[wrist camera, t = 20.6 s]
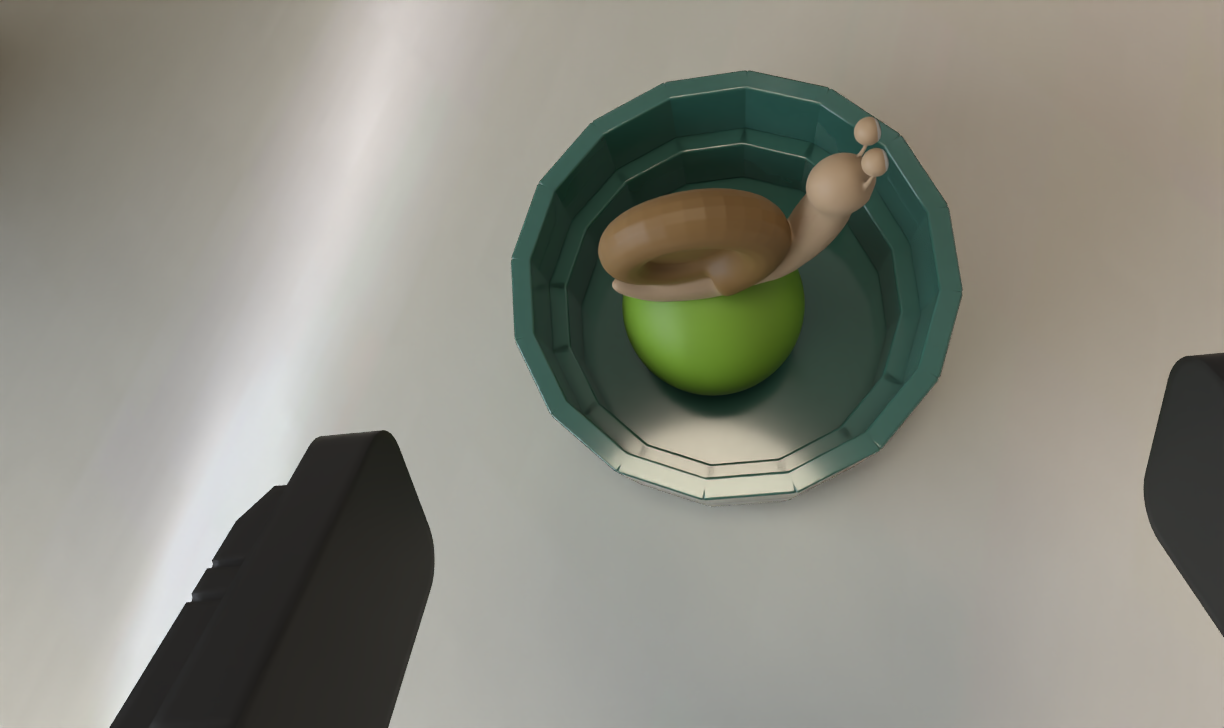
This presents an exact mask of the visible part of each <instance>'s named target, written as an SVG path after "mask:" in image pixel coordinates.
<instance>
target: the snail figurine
mask: <svg viewBox="0 0 1224 728" xmlns="http://www.w3.org/2000/svg"><path fill="white" fill-rule="evenodd" d="M854 136H855V139H856V140H857V142H859V143H860V144H862V145H864V146H863V148H862V149H861V151H860V152H859V153H858V154H853V153H837V154H833V155H830V156H828V157H826V158H824V159H823V160H821V161H820V162H819V163H818V164H816V165H815V167H814V168H813V169H812V170H811V172H810V174H809V176H808V179H807V182H806V194H805V196H804V197H803V198H802V199H801V200H800V202H799V203H798V204H797V206H796V207H795V208H794V210H793V211H792V213H791V214H790V216H789V218H788V219H786V217H785V215H784V214H783V212H782V211H781V209H780V208H779V207H778V206H777V205H775V204H774V203H773V202H771V201H770V200H768V199H767V198H765V197H763V196H761V195H757V194H754V193H751V192H747V191H742V190H736V189H726V188H707V189H695V190H688V191H681V192H676V193H672V194H668V195H664V196H660V197H657V198H654V199H651V200H648V201H645V202H643V203H641V204H638V205H636V206H634V207H632V208H630V209H629V210H627V211H625V212H624V213H622V214H621V215H619V216H618V217H617V218H616V219H614V220H613V221H612V222H611V223H610V224H609V225H608V226H607V228H606V229H605V231H604V232H603V234H602V236H601V238H600V242H599V247H598V255H599V259H600V261H601V264H602V266H603V268H604V269H605V270H606V272H607V273H608V274H610V275H611V276H612V277H613V278H615V280H614V281H613V283H612V287H613V289H614V290H615V291H617V292H618V293H620V294H623V301H622V310H623V320H624V325H625V329H626V333H627V336H628V338H629V341H630V343H631V345H632V347H633V349H634V351H635V352H636V354H637V355H638V357H639V358H640V360H641V361H642V362H643V363H644V365H645V366H646V367H647V368H648V369H649V370H650V371H651V372H652V373H653V374H655V375H656V376H657V377H658V378H660V379H661V380H663V381H664V382H666V383H667V384H669V385H671V386H673V387H675V388H678V389H680V390H683V391H686V392H689V393H693V394H699V395H710V396H716V395H727V394H732V393H736V392H740V391H743V390H746V389H748V388H750V387H753V386H755V385H757V384H758V383H760V382H762V381H763V380H765V379H766V378H768V377H769V376H770V375H771V374H773V373H774V372H775V371H776V370H777V369H778V368H779V367H780V366H781V365H782V364H783V362H784V361H785V360H786V359H787V357H788V356H789V354H790V353H791V351H792V350H793V348H794V346H795V344H796V342H797V339H798V337H799V334H800V331H801V328H802V324H803V319H804V310H805V298H804V289H803V284H802V280H801V277H800V274H799V271H798V268H800V267H801V266H802V265H804V264H805V263H807V262H808V261H810V260H811V259H813V258H814V257H815V256H817V255H818V254H819V253H820V252H821V251H822V250H824V249H825V248H826V247H827V246H828V245H829V244H830V243H831V242H832V241H833V240H834V239H835V238H836V236H837V235H838V234H839V233H840V232H841V230H842V229H843V228H844V226H845V225H846V223H847V222H848V220H849V218H850V216H851V214H852V213H853V212H855V211H857V210H858V209H860V208H861V207H863V206H864V205H865V204H866V203H867V202H868V201H869V199H870V196H871V194H872V192H873V189H874V187H875V184H876V177H878V176H881V175H883V174H884V173H885V172H886V171H887V170H888V166H889V161H888V156H887V154H886V152H885V151H884V150H883V149H880V148H873V149H870V150H868V151H867V152H866V153H865V154H864V152H865V150H866V148H867V146H870V145H873V144H875V143H877V142H878V141H879V139H880V137H881V127H880V124H879V122H878V121H877V119H875V118H873V117H865V118H863V119H861V120H860V121H858V123H857V124H856V126H855V128H854ZM863 154H864V155H863ZM862 155H863V157H862Z"/></svg>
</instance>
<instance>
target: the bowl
mask: <svg viewBox="0 0 1224 728" xmlns="http://www.w3.org/2000/svg"><path fill="white" fill-rule="evenodd" d="M865 117H873V118H875V117H874V116H872V115H871V114H869V113H868V112H866V111H864V110H863V109H861V108H860V107H858V106H857V105H855V104H854V103H852V102H851V101H849V100H848V99H846V98H845V97H843V96H842V95H840V94H839V93H837V92H836V91H834V90H833V89H829V88H828V87H824V86H820V85H815V84H810V83H806V82H801V81H796V80H792V79H787V78H782V77H778V76H773V75H768V74H763V73H759V72H754V71H748V72H747V71H738V72H731V73H724V74H717V75H711V76H704V77H697V78H690V79H683V80H677V81H670V82H666V83H665V84H664V83H662V84H660V85H658V86H656V87H655V88H653V89H651V90H649V91H647V92H645V93H644V94H642V95H640V96H638V97H636V98H634V99H632V100H631V101H629V102H627V103H625V104H623V105H621V106H620V107H618V108H616V109H614V110H612V111H610V112H609V113H607V114H605V115H603V116H601V117H599V118H597V119H596V120H594V121H593V123H590V124H589V125H588V127H587V128H586V129H585V130H584V131H583V132H582V133H581V135H580V136H579V137H578V138H577V139H576V140H575V141H574V143H573V144H572V145H571V146H570V147H569V148H568V149H567V151H566V152H565V153H564V154H563V155H562V156H561V158H560V159H559V160H558V161H557V162H556V163H555V164H554V166H553V167H552V168H551V169H550V170H549V171H548V172H547V174H546V175H545V176H544V177H543V178H542V179H541V180H540V182H539V184H538V185H537V188H536V191H535V194H534V196H533V199H532V202H531V205H530V207H529V210H528V213H527V216H526V219H525V221H524V224H523V227H522V230H521V233H520V235H519V238H518V241H517V244H516V247H515V249H514V252H513V255H512V260H511V272H512V293H513V315H514V336H515V340H516V344H517V346H518V348H519V350H520V353H521V355H522V357H523V359H524V361H525V363H526V365H527V367H528V369H529V371H530V373H531V375H532V377H533V379H534V382H535V384H536V386H537V388H538V390H539V392H540V394H541V396H542V398H543V400H544V402H545V404H546V406H547V408H548V410H549V413H550V414H551V415H552V417H553V418H554V419H556V420H557V421H558V422H559V423H560V424H561V425H562V426H564V427H565V428H566V429H567V430H568V431H569V432H571V433H572V434H573V435H574V436H575V437H576V438H577V439H579V440H580V441H581V442H582V443H583V444H584V445H585V446H587V447H588V448H589V449H590V450H591V451H592V452H594V453H595V454H596V455H597V456H598V457H599V458H600V459H602V460H603V461H604V462H605V463H606V464H607V465H608V466H610V467H611V468H612V469H613V470H614V471H616V472H618V473H619V474H621V475H623V476H625V477H627V478H629V479H631V480H633V481H635V482H637V483H639V484H641V485H645V486H648V487H651V488H654V489H657V490H660V491H663V492H666V493H669V494H672V495H675V496H678V497H681V498H684V499H687V500H690V501H693V502H696V503H699V504H702V505H706V506H711V507H717V506H730V505H743V504H756V503H769V502H782V501H787V500H791V499H792V498H794V497H796V496H798V495H800V494H802V493H804V492H806V491H808V490H810V489H812V488H814V487H816V486H818V485H820V484H822V483H824V482H826V481H828V480H829V479H831V478H833V477H835V476H837V475H839V474H841V473H843V472H845V471H847V470H849V469H851V468H853V467H855V466H856V465H858V464H860V463H861V462H863V461H864V460H866V459H868V458H869V457H871V456H872V455H874V454H875V453H877V452H879V451H880V449H882V448H883V447H884V446H885V445H886V443H887V442H888V441H889V440H890V438H891V437H892V436H893V435H894V434H895V432H896V431H897V430H898V429H899V428H900V426H901V425H902V424H903V423H904V421H905V420H906V419H907V418H908V417H909V415H910V414H911V413H912V412H913V411H914V409H915V408H916V407H917V406H918V404H919V403H920V402H921V401H922V400H923V398H924V397H925V396H926V395H927V393H928V392H929V391H930V390H931V389H932V387H933V386H934V385H935V384H936V383H937V381H938V378H939V377H940V376H941V372H942V368H943V364H944V361H945V357H946V353H947V350H948V346H949V342H950V339H951V335H952V331H953V328H954V324H955V320H956V317H957V313H958V309H959V306H960V302H961V298H962V290H963V289H962V283H961V277H960V271H959V265H958V259H957V253H956V247H955V241H954V235H953V229H952V223H951V217H950V211H949V208H948V207H947V203H946V201H945V200H944V198H943V197H942V195H941V194H940V192H939V191H938V189H937V188H936V186H935V185H934V183H933V182H932V180H931V179H930V177H929V176H928V174H927V173H926V171H925V170H924V168H923V167H922V165H921V164H920V162H919V161H918V159H917V158H916V156H915V155H914V153H913V152H912V150H911V149H910V147H909V146H908V144H907V143H906V141H905V140H904V138H903V137H902V136H900V134H899V133H898V132H896V131H895V130H893V129H892V128H890V127H889V126H887V125H886V124H884V123H883V122H881V121H880V120H878V119H877V118H875V119H877V121H878V122H879V124H880V127H881V137H880V139H879V141H878V142H877V143H875V144H873V145H870V146H867V148H866V150H865V152H864V154H865V153H866V152H867V151H868V150H870V149H873V148H880V149H883V150H884V151H885V152H886V154H887V156H888V161H889V166H888V170H887V171H886V172H885V173H884V174H883V175H881V176H878V177H876V184H875V187H874V189H873V192H872V194H871V196H870V199H869V201H868V202H867V203H866V204H865V205H864V206H863V207H861V208H860V209H858V210H857V211H855V212H853V213H852V214H851V216H850V218H849V220H848V222H847V223H846V225H845V226H844V228H843V229H842V230H841V232H840V233H839V234H838V235H837V236H836V238H835V239H834V240H833V241H832V242H831V243H830V244H829V245H828V246H827V247H826V248H825V249H824V250H822V251H821V252H820V253H819V254H818V255H817V256H815V257H814V258H813V259H811V260H810V261H808V262H807V263H805V264H804V265H802V266H801V267H800V268H798V271H799V274H800V277H801V280H802V284H803V289H804V298H805V310H804V319H803V324H802V328H801V331H800V334H799V337H798V339H797V342H796V344H795V346H794V348H793V350H792V351H791V353H790V354H789V356H788V357H787V359H786V360H785V361H784V362H783V364H782V365H781V366H780V367H779V368H778V369H777V370H776V371H775V372H774V373H773V374H771V375H770V376H769V377H768V378H766V379H765V380H763V381H762V382H760V383H758V384H757V385H755V386H753V387H750V388H748V389H746V390H743V391H740V392H736V393H732V394H727V395H716V396H710V395H699V394H693V393H689V392H686V391H683V390H680V389H678V388H675V387H673V386H671V385H669V384H667V383H666V382H664V381H663V380H661V379H660V378H658V377H657V376H656V375H655V374H653V373H652V372H651V371H650V370H649V369H648V368H647V367H646V366H645V365H644V363H643V362H642V361H641V360H640V358H639V357H638V355H637V354H636V352H635V351H634V349H633V347H632V345H631V343H630V341H629V338H628V336H627V333H626V329H625V325H624V320H623V310H622V301H623V294H620V293H618V292H617V291H615V290H614V289H613V287H612V283H613V281H614V280H615V278H613V277H612V276H611V275H610V274H608V273H607V272H606V270H605V269H604V268H603V266H602V264H601V261H600V259H599V255H598V247H599V242H600V238H601V236H602V234H603V232H604V231H605V229H606V228H607V226H608V225H609V224H610V223H611V222H612V221H613V220H614V219H616V218H617V217H618V216H619V215H621V214H622V213H624V212H625V211H627V210H629V209H630V208H632V207H634V206H636V205H638V204H641V203H643V202H645V201H648V200H651V199H654V198H657V197H660V196H664V195H668V194H672V193H676V192H681V191H688V190H695V189H707V188H726V189H736V190H742V191H747V192H751V193H754V194H757V195H761V196H763V197H765V198H767V199H768V200H770V201H771V202H773V203H774V204H775V205H777V206H778V207H779V208H780V209H781V211H782V212H783V214H784V215H785V217H786V219H788V218H789V216H790V214H791V213H792V211H793V210H794V208H795V207H796V206H797V204H798V203H799V202H800V200H801V199H802V198H803V197H804V196H805V194H806V182H807V179H808V176H809V174H810V172H811V170H812V169H813V168H814V167H815V165H816V164H818V163H819V162H820V161H821V160H823V159H824V158H826V157H828V156H830V155H833V154H837V153H853V154H858V153H859V152H860V151H861V149H862V148H863V146H864V145H862V144H860V143H859V142H857V140H856V139H855V136H854V128H855V126H856V124H857V123H858V121H860V120H861V119H863V118H865ZM864 154H863V155H864ZM863 155H862V157H863Z"/></svg>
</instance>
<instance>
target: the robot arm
mask: <svg viewBox="0 0 1224 728" xmlns="http://www.w3.org/2000/svg"><path fill="white" fill-rule="evenodd" d="M1144 500H1145V507H1146V511H1147V515H1148V519H1149V522H1150V524H1151V527H1152V529H1153V531H1154V533H1155V536H1156V537H1157V539H1158V541H1159V542H1160V544H1161V545H1162V547H1163V548H1164V550H1165V551H1166V553H1167V554H1168V556H1169V557H1170V558H1171V560H1172V561H1173V563H1174V564H1175V566H1176V567H1177V569H1178V570H1179V572H1180V573H1181V575H1182V576H1183V578H1184V579H1185V581H1186V582H1187V584H1188V585H1189V587H1190V588H1191V590H1192V591H1193V593H1194V594H1195V595H1196V597H1197V598H1198V600H1199V601H1200V603H1201V604H1202V606H1203V607H1204V609H1205V610H1206V612H1207V613H1208V615H1209V616H1210V618H1211V619H1212V621H1213V622H1214V624H1215V625H1216V627H1217V628H1218V629H1219V631H1220V632H1221V634H1222V635H1223V637H1224V353H1216V354H1205V355H1194V356H1185V357H1183V358H1181V359H1180V360H1178V361H1177V362H1176V363H1175V365H1174V366H1173V368H1172V370H1171V372H1170V375H1169V378H1168V382H1167V386H1166V390H1165V394H1164V398H1163V402H1162V406H1161V411H1160V415H1159V419H1158V423H1157V427H1156V431H1155V435H1154V439H1153V444H1152V448H1151V452H1150V456H1149V460H1148V464H1147V468H1146V472H1145V478H1144ZM212 562H213V566H212V568H207V570H206V571H205V573H204V574H203V576H202V578H201V579H200V581H199V583H198V584H197V586H196V587H195V589H194V591H193V592H192V597H193V598H192V602H186V604H185V605H184V607H183V609H182V610H181V612H180V614H179V615H178V617H177V618H176V620H175V622H174V623H173V625H172V627H171V628H170V630H169V632H168V633H167V635H166V636H165V638H164V640H163V641H162V643H161V645H160V646H159V648H158V649H157V651H156V653H155V654H154V656H153V658H152V659H151V661H150V662H149V664H148V666H147V667H146V669H145V671H144V672H143V674H142V676H141V677H140V679H139V680H138V682H137V684H136V685H135V687H134V689H133V690H132V692H131V693H130V695H129V697H128V698H127V700H126V702H125V703H124V705H123V706H122V708H121V710H120V711H119V713H118V715H117V716H116V718H115V720H114V721H113V723H112V724H111V726H110V728H388V726H389V723H390V720H391V716H392V713H393V710H394V707H395V703H396V700H397V697H398V694H399V690H400V687H401V684H402V681H403V677H404V674H405V671H406V668H407V664H408V661H409V658H410V655H411V651H412V648H413V645H414V642H415V638H416V635H417V632H418V629H419V625H420V622H421V619H422V616H423V613H424V609H425V606H426V603H427V600H428V596H429V593H430V590H431V586H432V582H433V576H434V545H433V539H432V534H431V531H430V528H429V525H428V522H427V520H426V517H425V514H424V512H423V509H422V506H421V504H420V501H419V499H418V496H417V493H416V491H415V488H414V485H413V483H412V480H411V477H410V475H409V472H408V469H407V467H406V464H405V462H404V459H403V456H402V454H401V451H400V448H399V446H398V444H397V442H396V440H395V438H394V437H393V436H392V434H391V433H389V432H388V431H385V430H382V431H371V432H361V433H350V434H340V435H329V436H320V437H318V438H316V439H315V440H314V441H313V442H312V443H311V444H310V446H309V447H308V449H307V451H306V453H305V454H304V456H303V458H302V460H301V461H300V463H299V465H298V467H297V468H296V470H295V472H294V474H293V475H292V477H291V479H290V481H289V482H288V484H287V485H283V486H274V487H273V488H272V489H271V490H270V491H269V492H267V493H266V494H265V495H264V496H263V497H262V498H261V499H260V500H259V501H258V502H257V503H255V504H254V505H253V506H252V507H251V508H250V509H249V510H248V511H247V512H246V513H245V514H243V515H242V516H241V517H240V518H239V519H238V520H237V521H236V522H235V524H234V526H233V527H232V529H231V530H230V532H229V534H228V535H227V537H226V539H225V540H224V542H223V543H222V545H221V547H220V548H219V550H218V552H217V553H216V555H215V557H214V558H213V560H212Z"/></svg>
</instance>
